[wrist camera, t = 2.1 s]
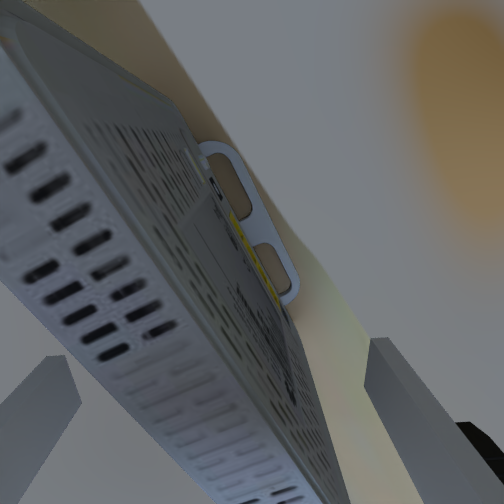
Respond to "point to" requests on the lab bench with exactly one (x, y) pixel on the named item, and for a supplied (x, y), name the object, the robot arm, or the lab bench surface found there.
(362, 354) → the lab bench surface
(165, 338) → the network device
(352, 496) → the lab bench surface
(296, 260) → the lab bench surface
